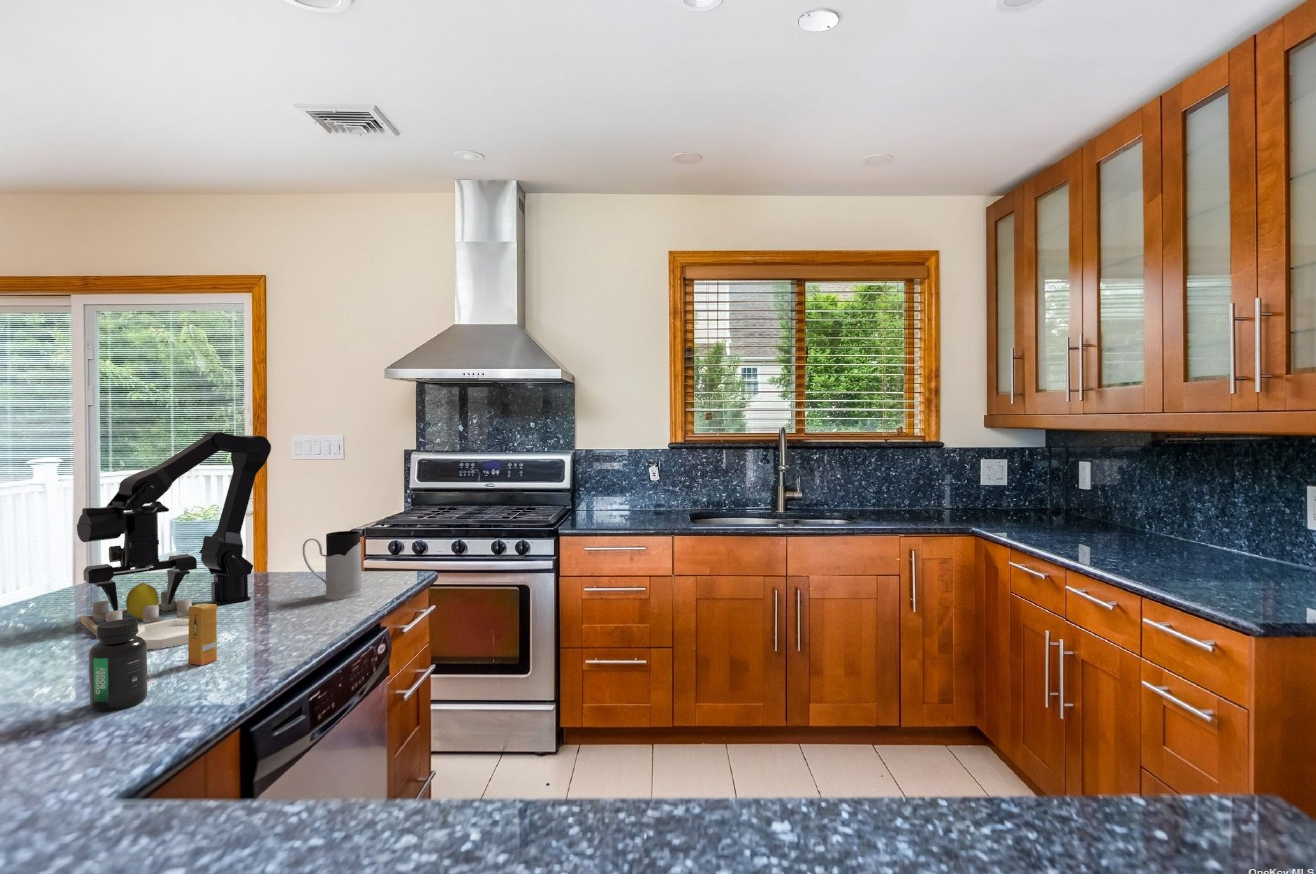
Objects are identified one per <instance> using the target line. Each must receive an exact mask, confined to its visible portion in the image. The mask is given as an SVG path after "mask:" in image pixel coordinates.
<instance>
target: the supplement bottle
mask: <svg viewBox="0 0 1316 874" xmlns="http://www.w3.org/2000/svg"><path fill="white" fill-rule="evenodd" d="M138 625H139V624H138V620H137V619H134V618H122V620H114V621H109V622H101V623H100V624H98V625H97V635H96V636H95V637H96V640H97V642H96V643H95V644H93V645H92V646H91V647H90V649H89V651H88V683H89V685H88V688H89V707H90V708H91V709H92V710H93V711H94V712H101V713H102V712H115V711H120V710H126V709H129V708H131V707H135V706H137V705H139V704H141V703H142V702H144V701H145V700H146V699H147V697H148V655H147V654H148V653H147V652H148V650H147V646H146V642H145V640H144V639H143V638H141V637H138V636H136V634H137V633H138Z"/></svg>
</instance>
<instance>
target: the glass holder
mask: <svg viewBox="0 0 1316 874" xmlns="http://www.w3.org/2000/svg"><path fill="white" fill-rule="evenodd" d="M309 541H314V542H316V543H317V544H318V547H319V554H320V556H322V557H324V558H325V578H324V577H323V576H321V575H320V574H318V573H317V572H316V571H315V570H314V568H312V566H311V565H310V563H309V561H308V558H307V555H306V545H307V542H309ZM325 541H326V542H325V545H326V547H325V548H326V549H325V550H326V551H325V552H326V553H325V554H324V553H323V547H322V543H321V542H320V541H319V540H318V539H317V538H315V537H313V538H308V539H306V540H305V541H304V542H303V544H302V557H303V560H304V562H305V565H306V566H307V568H308V569H309V571H310V572H312V574H313V575H315V577H317V578H319V580H321V581H322V582H323V583H324V584H325V593H324V595H323V598H324V599H326V600H327V599H328V600H333V601H334V600H337V601H338V600H348V599H355V598H358V597H361V596H363V595H364V590H363V588H362V544H361V532H360V531H357V530H355V531H354V530H343V531H341V530H340V531H333V532H329V533H326V534H325Z"/></svg>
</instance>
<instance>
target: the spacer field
mask: <svg viewBox="0 0 1316 874" xmlns="http://www.w3.org/2000/svg"><path fill="white" fill-rule="evenodd" d="M192 601H193V600H192V599H191V598H185V599H179V600H176V594H175V595H174V597H173V599H172V602H171V604H169V605H168V604H167V590H165V591H164V590H163V591H160V602H159V603H158V605H150V606H145V607H143V620H142V624H138V626H142V625H146V624H151V623H157V622H162V621H168V620H173V619H189V606H193V604H192V603H193V602H192ZM109 607H110V605H109V600H98V601H95V602H92V614H88V615H83V616H79V622H80V623H81V624H82V625H83V626H84V627H85V626H86V627H85V628H87V630H89V631H90V632H91V633H92V634H93V635H94V636H95V635H97V626H98V625H97V624H99V622H101V623H104V622H103V621H106V622H109V621H114V620H122V619H123V615H122V614H127V616H128V615H129V616H128V617H133V616H132V615H131V614H130V613H129V612H128V610H127V608H125V609H118V611H113V610H111V611H109V610H110V608H109ZM160 610H162V611H161V612H168V610H170V611H174V610H176V618H171V619H170V618H169V619H165V620H160V614H159V613H160ZM91 620H92V621H91Z"/></svg>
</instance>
